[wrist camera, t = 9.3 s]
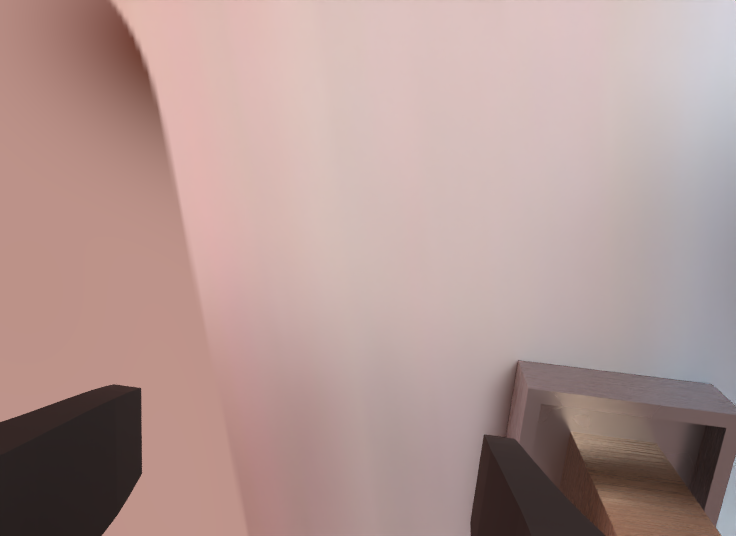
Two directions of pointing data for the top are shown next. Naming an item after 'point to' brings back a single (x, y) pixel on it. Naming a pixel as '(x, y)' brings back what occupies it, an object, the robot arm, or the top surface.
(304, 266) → the top surface
